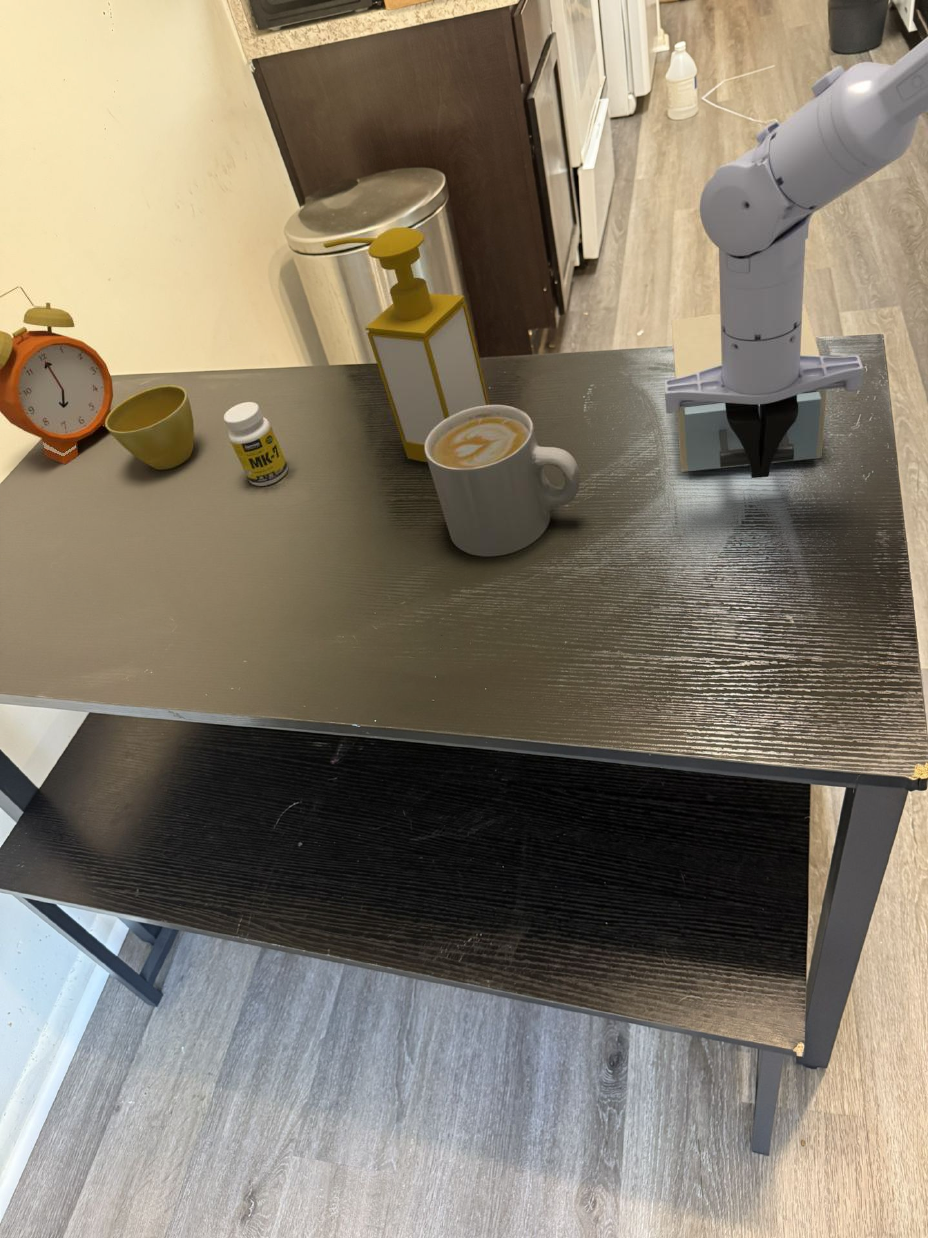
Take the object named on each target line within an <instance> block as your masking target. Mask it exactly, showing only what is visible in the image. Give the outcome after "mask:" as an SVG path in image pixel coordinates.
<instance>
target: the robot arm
mask: <svg viewBox="0 0 928 1238" xmlns="http://www.w3.org/2000/svg"><path fill="white" fill-rule="evenodd" d="M843 67H844V66H842V65H837V66H836V67H835V68H833V69H831V70H830V71H828V72H827V73H825V74H824V75H823V76H821V77H820V78H819V79H818V80H817V81H816V82H815V83H813V84H812V86H811V91H812V92H813V95H814V97H813V98H811V99H810V100H809V101H808V102H807V103H805V104H803V106H801V107H800V108H799V109H798V110H796V111H795V112H794V113H793V114H791V115H790V116H789V117H787V118H786V119H785V120H784V121H783V122H782V123H780V122H779V121H778V120H774V121H771V123H769V124H768V125H766V126H765V127H764V128H762V129H761V130H760V131H759V132H757V133H756V136H755V139H756V141H757V143H758V144H757V145H756V146H755V147H753V148H752V149H750V150H748V151H747V152H745V153H744V154H742V155H741V156H739V157H738V158H736V159H735V160H733V161H731V162H728V163H725V164H723V165H721V166H719V167H718V168H717V169H716V170H715V171H714V174H713V176H712V177H711V178H709V180H707V182H706V183H705V185H704V187H703V189H702V191H701V196H700V201H699V202H700V203H699V215H700V220H701V224H702V226H703V229H704V231H705V233H706V235H707V237H708V238H709V240H710V241H711V243H713V245H715V247H717V248H718V271H719V272H718V273H719V274H718V275H719V314H720V321H721V359H722V365H719V366H716V367H712V368H709V369H706V370H703V371H700V372H697V373H694V374H691V375H687V376H684V377H680V378H675V377H674V378H670V379H664V381H663V383H664V384H663V385H664V398H665V412H666V414H674V413H677V412H679V411H680V407H688V406H696V405H704V404H712V403H721V402H723V403H725V407H726V415H727V420H728V423H729V425H730V427H731V429H732V430H733V432H734V433H735V434H736V436H737V437H738V439H739V440H740V442H741V444H742V446H743V448H744V450H745V452H746V455H747V458H748V461H749V464H750V465H749V471H750V476H751V478H752V479H759V478H769V476H770V472H771V468H772V465H773V463H772V461H773V459H774V456H775V453H776V451H777V449H778V447H779V445H780V443H781V441H782V439H783V437H784V436H785V434H786V433H787V431H788V430H789V429H790V427H791V426H792V425H793V424H794V422H795V421H796V418H797V415H798V402H797V395H798V394H801V393H804V392H811V391H819V390H835V389H842V388H843V389H844V390H845V391H846V392H848V393H849V392H857V391H861V390H862V385H863V377H864V376H863V375H864V366H863V363H862V360H861V357H860V355H858V354H856V355H855V354H854V355H843V356H826V355H820V356H806V355H800V352H801V330H802V306H803V302H804V283H805V281H804V280H805V262H806V261H805V259H806V241H807V239H809V229H810V227H809V226H810V221H811V218H812V217H813V215H814V214H815V213H816V212H817V211H819V210H821V209H823V208H824V207H826V206H827V205H829V204H831V203H832V202H834V201H835V200H836V199H838V198H839V197H841V196H843V195H844V194H846V193H847V192H850V190H852V189H853V188H855V187H857V186H858V185H859V184H862V183H863V182H865V181H866V180H867V179H869V178H870V177H872V176H874V175H875V174H877V173H878V172H880V171H881V170H882V169H884V168H886V167H887V166H889V165H891V164H892V163H893V162H895V161H897V160H898V159H900V158H901V157H902V156H903V155H904V154H905V153H906V152H907V150H908V149H909V147H910V146H911V144H912V141H913V138H914V135H915V133H916V128H917V125H918V122H919V119H920V116H921V115H922V114H923V115H924V113H925V112H927V111H928V36H926V38H924V39H923V40H922V41H920V42H919V43H918V44H917V45H916V46H914V47H913V48H912V49H911V50H910V51H908V52H907V53H906V54H904V56H902V57H901V58H899V59H898V60H897V61H896V62H895V63H893V64H885V63H881V62H874V61H862V62H859V63H856V64H854V65H852V66H851V67H849V68H848V69H847V70H845V69H844V68H843ZM759 404H760V416H759Z"/></svg>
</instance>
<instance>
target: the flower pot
mask: <svg viewBox="0 0 928 1238" xmlns="http://www.w3.org/2000/svg"><path fill="white" fill-rule="evenodd" d="M110 411H111V412H110V413H109V415H108V416H107V418H106V421H105V425H106V428H105V429H107V430H108V432H109V433H110V434H111V436H113V438H114V439H115V440H116V441H117V442H118V443H119V444H120V446H122V447H123V448H124V449H126V451H127V452H129V453H130V454H132V455H133V456H134V457H135V458H137V459H138V460H140V461H142V462H143V463H145V464H147V465H148V466H150V467H152V468H154V469H156V470H163V471H164V470H170V469H173V468H176V467H178V466H180V465H181V464H183V463H184V462H186V461H187V460H188V459H189V458H190V457H191V455H192V454H193V449H194V441H195V440H194V439H195V438H194V437H195V427H194V426H195V424H194V416H193V411H192V407H191V403H190V399H189V396H188V393H187V390H185V388H183V387H181V386H180V385H171V384H167V385H159V386H154V387H151V388H148V389H145V390H142V391H140V392H138V393H136V394H133V395H132V396H129V397H128V398H126V399H124V400H123V401H121V402H120V403H118V404H117V405H116V406H115V407H114V408H113V409H112V410H110Z"/></svg>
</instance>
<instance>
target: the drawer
mask: <svg viewBox="0 0 928 1238" xmlns="http://www.w3.org/2000/svg"><path fill="white" fill-rule="evenodd" d="M797 402H798V415H797V418H796V421H795V422H794V424H793V425H792V426H791V427H790V429H789V430H788V431H787V433H786V434H785V436H784V437H783V439H782V441H781V443H780V445H779V447H778V449H777V451H776V453H775V456H774V459H773V461H772V464H775V463H774V462H776V463H784V461H786V462H795V461H794V460H796V461H804V459H806V460H815V459H814V458H816V459H818V458H817V450H818V436H819V423H820V409H821V396H820V393H819V392H811V393H808V392H804V393H801V394H798V395H797ZM684 411H685V431H686V450H687V467H688V471H687V472H695V471H694V470H696V471H703V470H704V469H706V470H715V469H714V468H716V469H724V467H726V468H735V467H734V466H736V467H744V465H746V466H750V464H749V461H748V458H747V455H746V452H745V450H744V448H743V446H742V444H741V442H740V440H739V439H738V437H737V436H736V434H735V433H734V432H733V430H732V429H731V427H730V425H729V423H728V420H727V415H726V407H725V403H712V404H704V405H696V406H690V407H685V408H684ZM759 416H760V404H759ZM704 471H705V470H704Z"/></svg>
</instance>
